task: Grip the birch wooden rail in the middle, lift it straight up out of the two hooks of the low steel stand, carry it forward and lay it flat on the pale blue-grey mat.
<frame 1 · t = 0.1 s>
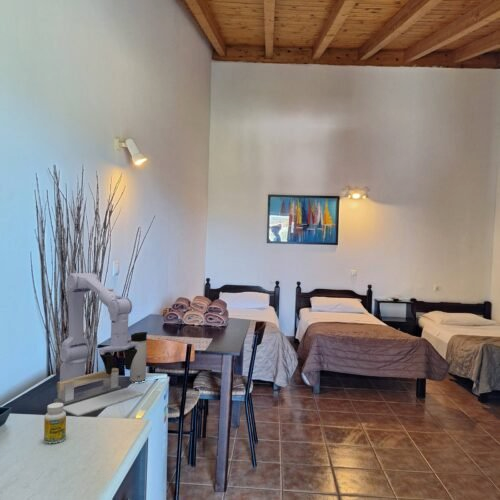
hand: (118, 371, 143), 10 cm above the worktop, tool pointing down, fingers open, 7 cm apart
mat: (104, 401, 141), on the worktop
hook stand: (89, 395, 146), on the worktop
travel mug: (138, 381, 164), on the worktop
rail: (89, 382, 146), point 5 cm above the worktop, touching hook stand
supplement bottle: (54, 440, 111), on the worktop
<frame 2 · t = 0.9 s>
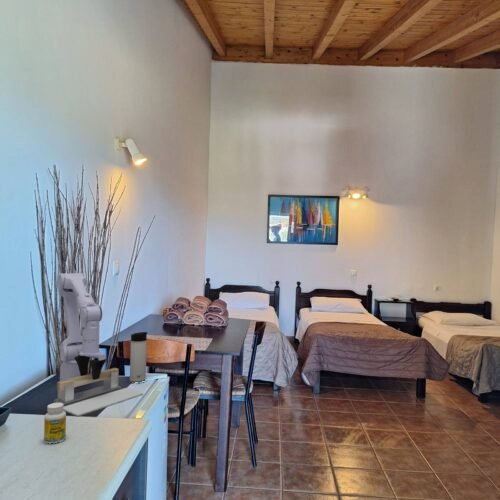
hand: (89, 377, 146), 7 cm above the worktop, tool pointing down, fingers open, 7 cm apart
nothing on the worktop moved.
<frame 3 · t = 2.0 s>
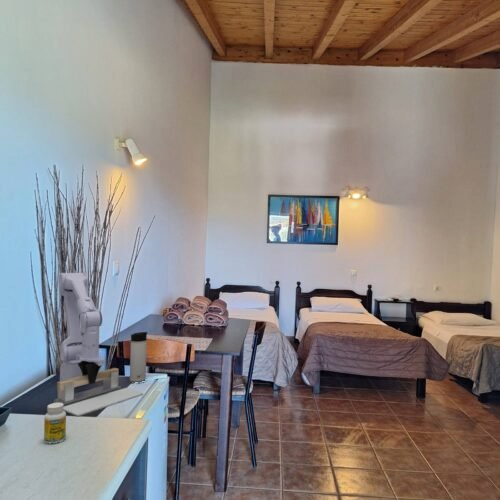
hand: (89, 382, 146), 5 cm above the worktop, tool pointing down, fingers closed on rail, 2 cm apart
rail: (89, 382, 146), point 5 cm above the worktop, touching gripper, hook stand
everything else where it was.
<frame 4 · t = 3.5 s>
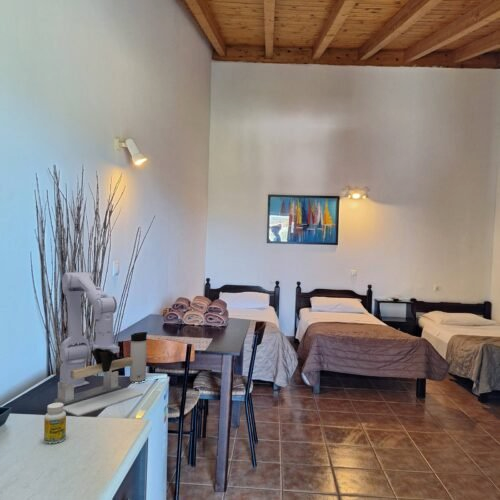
hand: (103, 370, 141), 11 cm above the worktop, tool pointing down, fingers closed on rail, 2 cm apart
rail: (103, 371, 141), point 10 cm above the worktop, touching gripper
everything else where it was.
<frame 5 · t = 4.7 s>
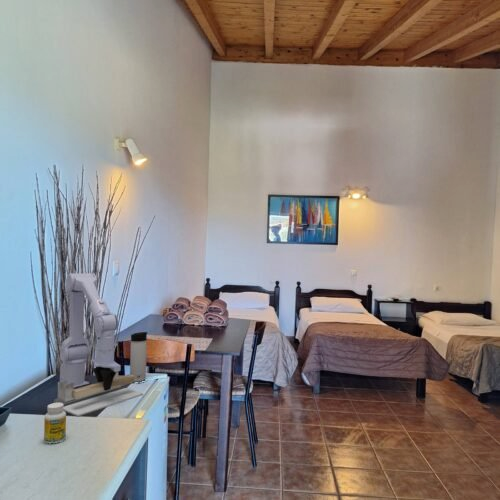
hand: (104, 388, 141), 4 cm above the worktop, tool pointing down, fingers closed on rail, 2 cm apart
rail: (104, 389, 141), point 4 cm above the worktop, touching gripper
everything else where it was.
when the fingers open (2 cm above the worktop, at t = 5.5 s): rail drops 1 cm, resting on mat.
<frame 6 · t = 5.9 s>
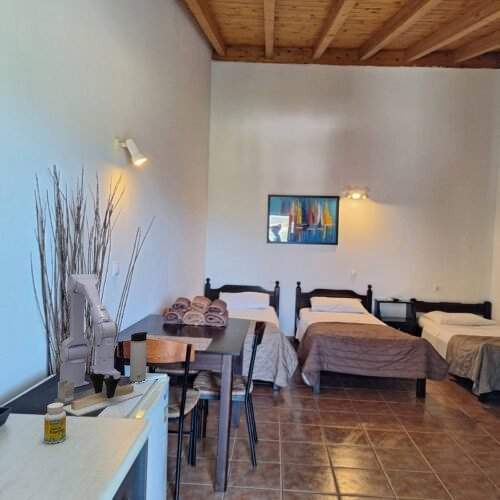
hand: (104, 395, 141), 2 cm above the worktop, tool pointing down, fingers open, 6 cm apart
rail: (104, 400, 141), resting on mat
everything else where it was.
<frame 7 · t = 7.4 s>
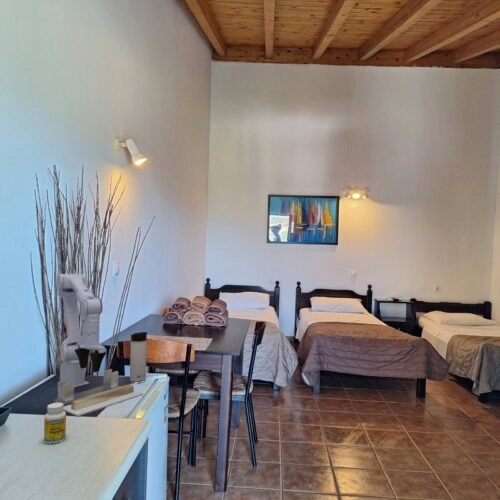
hand: (89, 369, 146), 9 cm above the worktop, tool pointing down, fingers open, 7 cm apart
nothing on the worktop moved.
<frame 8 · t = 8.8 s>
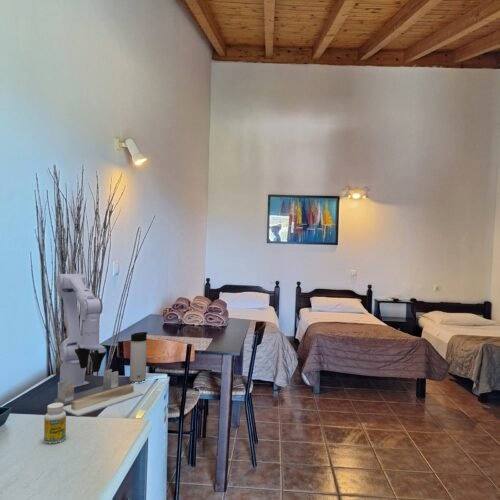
hand: (89, 369, 146), 9 cm above the worktop, tool pointing down, fingers open, 7 cm apart
nothing on the worktop moved.
at the end: rail 0.0 cm off-centre on the mat, point 0.5 cm above the mat's base; rail tilted 0°; the gripper is holding nothing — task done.
